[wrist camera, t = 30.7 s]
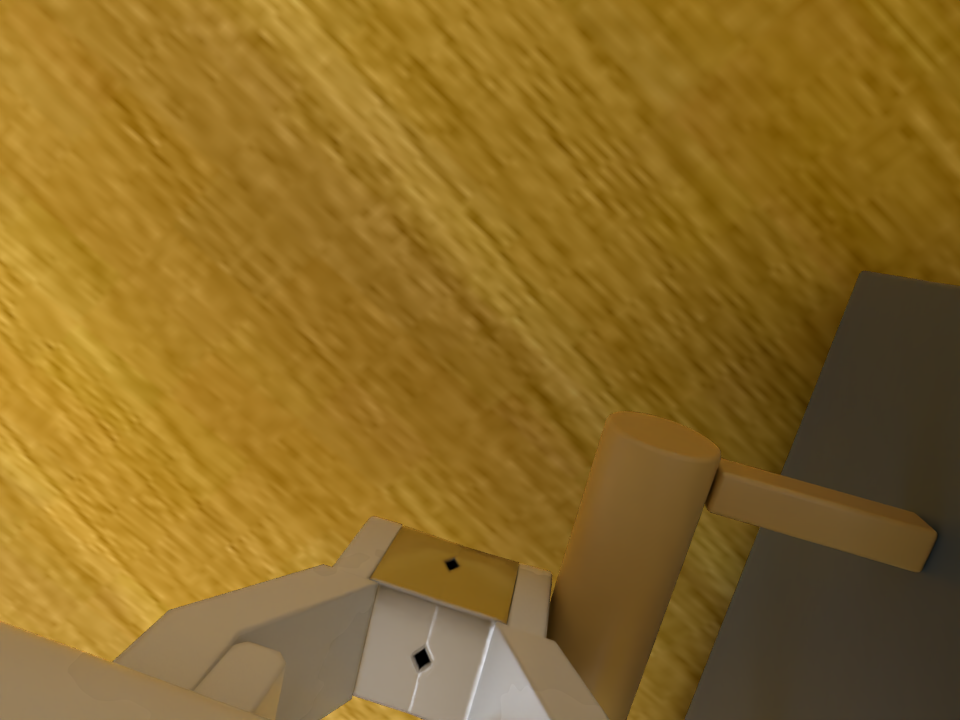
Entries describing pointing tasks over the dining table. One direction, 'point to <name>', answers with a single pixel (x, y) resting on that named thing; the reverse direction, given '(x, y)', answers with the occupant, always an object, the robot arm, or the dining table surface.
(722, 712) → the drawer
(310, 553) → the dining table surface
